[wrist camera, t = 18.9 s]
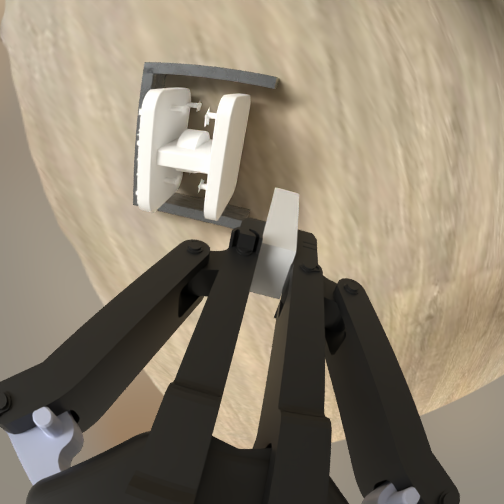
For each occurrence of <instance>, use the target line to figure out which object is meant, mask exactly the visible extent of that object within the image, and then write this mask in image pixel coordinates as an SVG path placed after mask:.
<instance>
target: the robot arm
mask: <svg viewBox="0 0 504 504" xmlns="http://www.w3.org/2000/svg"><path fill="white" fill-rule="evenodd" d="M298 211H299V194H298V193H295V192H291V191H287V190H284V189H280V188H276V187H275V191H274V195H273V198H272V202H271V206H270V210H269V214H268V217H267V221H266V222H265V221H261V220H257V219H253V218H249V217H248V218H246V219H244V220H243V221H242V223H241V225H240V227H236V228H234V229H233V230H232V233H231V238H230V244H229V248H228V249H227V250H224V251H210V247H209V246H208V245H207V244H206V243H204V242H203V241H199V240H186V241H184V242H182V243H181V244H179V245H178V246H177V247H176V248H174V249H173V250H172V251H170V252H169V253H168V254H167V255H165V256H164V257H163V258H162V259H161V260H159V261H158V262H157V263H156V264H154V265H153V266H152V267H151V268H149V269H148V270H147V271H146V272H145V273H143V274H142V275H141V276H140V277H139V278H137V279H136V280H135V281H134V282H133V283H131V284H130V285H129V286H128V287H127V288H125V289H124V290H123V291H122V292H121V293H119V294H118V295H117V296H116V297H115V298H114V299H112V300H111V301H110V302H109V303H108V304H107V305H105V306H104V307H103V308H102V309H101V310H100V311H99V312H98V313H96V314H95V315H94V316H93V317H92V318H91V319H89V320H88V321H87V322H86V323H85V324H84V325H83V326H82V327H80V328H79V329H78V330H77V331H76V332H75V333H74V334H73V335H72V336H71V337H69V339H67V340H66V341H65V342H64V343H63V344H62V345H61V346H60V347H59V348H57V349H56V350H55V351H54V352H53V353H52V354H51V355H50V356H49V357H48V358H47V359H46V360H45V361H44V362H42V363H40V364H38V365H36V366H34V367H31V368H29V369H27V370H25V371H23V372H21V373H19V374H16V375H14V376H12V377H10V378H8V379H6V380H3V381H1V382H0V427H1V428H3V429H4V430H5V431H6V432H7V433H8V435H9V437H10V440H11V442H12V444H13V447H14V449H15V451H16V453H17V455H18V458H19V460H20V462H21V464H22V465H23V468H24V470H25V472H26V474H27V475H28V477H29V479H30V481H31V482H32V485H33V487H32V488H31V490H30V491H29V493H28V496H27V500H26V504H349V503H348V502H347V500H346V499H345V497H344V496H343V495H342V493H341V492H340V490H339V489H338V487H337V486H336V485H335V483H334V482H333V480H332V479H331V477H330V476H329V472H330V455H331V432H332V428H331V421H330V419H329V418H327V417H325V415H324V397H325V359H326V363H327V366H328V370H329V374H330V378H331V381H332V385H333V389H334V393H335V397H336V400H337V404H338V408H339V412H340V416H341V420H342V424H343V428H344V433H345V437H346V441H347V445H348V449H349V454H350V458H351V463H352V467H353V471H354V475H355V478H356V482H357V484H358V487H359V489H360V492H361V494H362V496H363V497H364V500H363V502H362V504H459V502H460V495H459V492H458V490H457V488H456V486H455V485H454V483H453V482H452V480H451V479H450V477H449V476H448V475H447V473H446V472H445V470H444V469H443V467H442V466H441V464H440V463H439V461H438V460H437V459H436V457H435V456H434V454H433V453H432V451H431V448H430V445H429V442H428V440H427V436H426V434H425V431H424V428H423V425H422V422H421V419H420V416H419V414H418V411H417V408H416V406H415V403H414V400H413V398H412V395H411V393H410V390H409V388H408V385H407V383H406V380H405V378H404V375H403V373H402V370H401V368H400V366H399V363H398V361H397V359H396V356H395V354H394V352H393V349H392V347H391V345H390V343H389V340H388V338H387V336H386V334H385V331H384V329H383V327H382V325H381V323H380V321H379V319H378V316H377V314H376V312H375V310H374V308H373V306H372V304H371V302H370V300H369V298H368V296H367V294H366V292H365V290H364V288H363V287H362V286H361V285H360V284H359V283H358V282H356V281H354V280H352V279H347V278H345V279H341V280H339V281H338V284H337V283H335V282H333V281H331V280H329V279H327V278H326V277H325V276H323V271H322V268H321V267H320V266H319V265H318V256H317V239H316V238H315V236H314V235H313V234H312V233H308V232H305V231H301V230H298ZM249 292H253V293H257V294H261V295H265V296H269V297H273V298H277V299H280V296H281V300H280V303H279V305H278V308H277V311H276V313H275V316H274V318H276V324H275V331H274V337H273V344H272V350H271V357H270V363H269V369H268V375H267V381H266V387H265V393H264V399H263V405H262V411H261V416H260V422H259V427H258V433H257V437H256V441H255V443H254V446H253V449H238V448H236V447H234V446H231V445H229V444H227V443H225V442H223V441H221V440H219V439H217V438H215V437H213V436H212V433H213V430H214V426H215V422H216V418H217V415H218V411H219V407H220V403H221V399H222V395H223V391H224V388H225V384H226V380H227V376H228V372H229V368H230V365H231V361H232V357H233V353H234V349H235V345H236V342H237V338H238V334H239V330H240V326H241V322H242V318H243V315H244V311H245V307H246V303H247V299H248V295H249ZM281 294H282V295H281ZM204 296H208V298H207V301H206V303H205V305H204V308H203V310H202V313H201V315H200V318H199V320H198V323H197V325H196V328H195V330H194V333H193V335H192V337H191V340H190V342H189V345H188V347H187V350H186V353H185V355H184V358H183V360H182V363H181V365H180V368H179V370H178V373H177V375H176V378H175V380H174V382H172V383H170V385H169V386H168V388H167V390H166V392H165V395H164V397H163V400H162V403H161V405H160V408H159V410H158V413H157V415H156V418H155V421H154V423H153V426H152V428H151V431H149V432H145V433H141V434H139V435H136V436H134V437H132V438H130V439H129V440H126V441H124V442H123V443H121V444H119V445H117V446H115V447H113V448H111V449H109V450H107V451H105V452H103V453H101V454H99V455H97V456H94V457H92V458H90V459H88V460H86V461H84V462H82V463H79V464H77V465H75V466H73V467H70V465H71V461H72V459H73V457H75V456H76V454H77V453H79V452H80V451H81V449H82V447H83V442H84V439H83V434H82V433H83V432H85V431H86V430H87V429H89V428H90V427H91V426H92V425H94V424H95V423H96V422H97V421H98V420H99V419H100V418H101V417H102V416H103V415H104V413H105V412H106V411H107V410H108V409H109V408H110V407H111V405H112V404H113V403H114V402H115V401H116V399H117V398H118V397H119V396H120V395H121V394H122V392H123V391H124V390H125V389H126V387H128V386H129V384H130V383H131V382H132V381H133V380H134V378H135V377H136V376H137V375H138V374H139V373H140V372H141V370H142V369H143V368H144V367H145V366H146V365H147V363H148V362H149V361H150V360H151V359H152V358H153V356H154V355H155V354H156V353H157V352H158V351H159V350H160V348H161V347H162V346H163V345H164V344H165V343H166V341H167V340H168V339H169V338H170V337H171V336H172V334H173V333H174V332H175V331H176V330H177V329H178V328H179V326H180V325H181V324H182V323H183V322H184V321H185V319H186V318H187V317H188V316H189V315H190V314H191V313H192V311H193V310H194V309H195V308H196V307H197V306H198V304H199V303H200V302H201V301H202V300H203V298H204Z"/></svg>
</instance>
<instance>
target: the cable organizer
mask: <svg viewBox="0 0 504 504" xmlns="http://www.w3.org/2000/svg"><path fill="white" fill-rule="evenodd" d="M250 103H251V98H250V95H247V94H241V93H237V94H227V95H224V96H223V97H222V99H221V101H220V103H219V106H218V110H217V113H211V112H210V107H209V109H208V111H207V114H206V115H205V126H206V124H208V126H209V118H211V119H216V120H215V127H214V133H213V139H210V135H209V132H207V131H201V130H194V129H188V121H189V113H190V107H192V108H197V111H198V110H199V111H200V107H201V105H202V103H200V101H199V103H192V102H191V92H190V89H189V88H179V87H175V88H162V89H151V90H149V91H148V92H147V94H146V96H145V98H144V100H143V104H142V108H141V109H139V115H141V117H140V129H139V130H138V131H139V134H137V135H139V140H138V141H137V145H138V146H139V147H138V148H139V149H138V159H137V160H138V170H137V171H138V173H137V174H136V175H137V176H138V178H137V191H136V195H137V200H138V201H137V204H138V206H139V208H140V209H141V210H143V211H147V212H152V213H154V212H155V211H157V210H158V209H159V208H160V207H161V206H162V205H163V204H164V203H165V202H166V201H167V200H168V199H169V198H170V197H171V196H172V195H173V194H174V193H175V192H176V191H177V190H178V189H179V187H180V184H181V181H182V176H183V172H190V173H198V172H200V173H205V174H208V177H207V184H204V183H203V182H204V180H203V181H202V179H201V182H200V184H199V186H198V187H199V191H200V189H204V190H206V194H205V202H204V216H205V218H206V219H210V220H215V221H218V219H219V218H220V216H221V214H222V212H223V211H224V209H225V207H226V206H227V204H228V202H229V200H230V199H231V197H232V195H233V193H234V190H235V187H236V183H237V178H238V172H239V166H240V161H241V155H242V149H243V144H244V138H245V132H246V127H247V122H248V116H249V111H250ZM197 111H196V112H197ZM205 126H204V128H205ZM189 175H190V174H189ZM198 193H199V192H198Z"/></svg>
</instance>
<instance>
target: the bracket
mask: <svg viewBox="0 0 504 504" xmlns="http://www.w3.org/2000/svg"><path fill="white" fill-rule="evenodd" d="M166 74H175V75H187V76H197V77H206V78H214V79H222V80H228V81H235V82H241V83H247V84H252V85H258V86H263V87H268V88H273V89H277V85H278V81H279V78H277V77H274V76H269V75H264V74H258V73H253V72H247V71H241V70H234V69H227V68H220V67H212V66H202V65H192V64H178V63H157V62H145V64H144V70H143V77H142V84H141V92H140V100H139V109H141V108H142V104H143V100H144V98H145V96H146V94H147V92H148V91H149V90H151V89H162V88H164V83H165V77H166ZM139 109H138V119H137V130H136V143H135V160H134V189H133V205H136V206H138V204H137V201H138V200H137V195H136V191H137V178H138V176H137V175H136V174H137V173H138V171H137V170H138V160H137V159H138V149H139V148H138V147H139V146H138V145H137V141H138V140H139V135H137V134H139V131H138V130H139V129H140V117H141V115H139ZM204 202H205V199H202V198H197V197H193V196H188V195H184V194H179V193H174V194H173V195H172V196H171V197H170V198H169V199H168V200H167V201H166V202H165V203H164V204H163V205H162V206H161V207H160V208H159V209H158V211H162V212H166V213H170V214H175V215H179V216H183V217H187V218H192V219H196V220H200V221H204V222H208V223H212V224H216V225H221V226H225V227H229V228H233V229H234V228H236V227H240V225H241V223H242V221H243V220H244V219H246V218H248V216H249V211H250V210H249V209H245V208H240V207H236V206H232V205H228V204H227V206H226V207H225V209H224V211H223V212H222V214H221V216H220V218H219V219H218V221H215V220H210V219H206V218H205V216H204Z"/></svg>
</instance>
